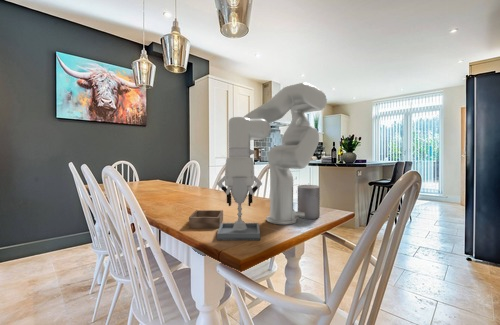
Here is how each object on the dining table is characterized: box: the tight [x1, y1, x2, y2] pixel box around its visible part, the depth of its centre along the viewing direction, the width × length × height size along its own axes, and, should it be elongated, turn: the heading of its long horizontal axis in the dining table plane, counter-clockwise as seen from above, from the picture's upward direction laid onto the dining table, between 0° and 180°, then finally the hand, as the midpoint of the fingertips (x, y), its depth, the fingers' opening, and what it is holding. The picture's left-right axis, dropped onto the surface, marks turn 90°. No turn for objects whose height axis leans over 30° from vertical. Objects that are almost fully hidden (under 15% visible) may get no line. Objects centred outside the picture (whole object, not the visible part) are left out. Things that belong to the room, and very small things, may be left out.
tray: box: [216, 222, 261, 241], centre depth 83 cm, size 14×12×2 cm
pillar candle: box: [297, 183, 321, 220], centre depth 106 cm, size 10×10×15 cm
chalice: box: [230, 177, 249, 230], centre depth 82 cm, size 7×7×18 cm
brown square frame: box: [188, 209, 224, 229], centre depth 95 cm, size 12×12×4 cm
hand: (239, 204), depth 82 cm, fingers closed on chalice, 6 cm apart
